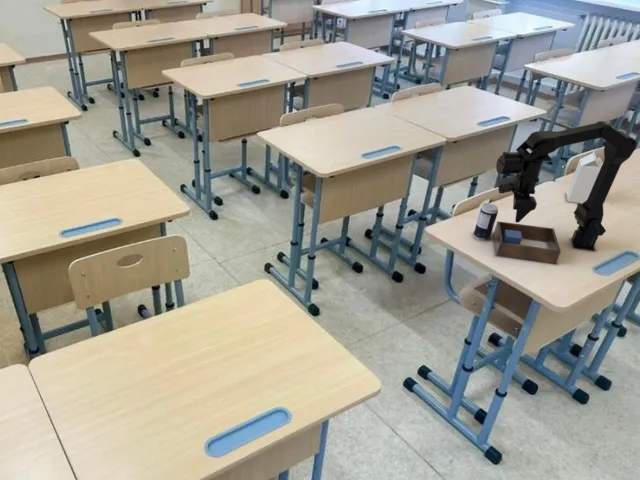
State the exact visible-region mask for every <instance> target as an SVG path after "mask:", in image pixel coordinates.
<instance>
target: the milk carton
mask: <svg viewBox="0 0 640 480" xmlns="http://www.w3.org/2000/svg"><path fill="white" fill-rule="evenodd" d="M601 163H603V160H602V158H601V157H597V156H596V152H595V150H593V151H592V153H590V154H588V155H586V156H584V157H582V158H580V159H579V161H578V163H577V166H576V169H575V171H574V173H573V176H572V179H571V181H570V183H569V186H568V189H567V192H566V201H567V202H569V203H575V204H578V203H584V202H585V201H586V200H587V199H588V197H589V194H590V192H591V190H592V187H593V185H594V183H595V181H596V178H597V176H598V174H599V171H600V169H601V167H602V164H601Z"/></svg>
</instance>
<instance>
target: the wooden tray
mask: <svg viewBox="0 0 640 480" xmlns="http://www.w3.org/2000/svg"><path fill="white" fill-rule="evenodd" d="M505 229H506V230H514V231H521V236H522V239H526V240H534V241H539V242H540V241H541V242H547V243H546V244H547V246H548V248H547V247H539V246H531V245H523V244H520V245H517V244H510V243H503V241H502V238H503V235H504V232H505ZM493 240H494V248H495V255H496V257H502V258H510V259H516V260H524V261H530V262H531V261H532V262H538V263H544V264H552V265H556V264H557V262H558V259H559V257H560V254H561V247H560V244H559V240H558V237H557V233H556V230H555V228H554V227H553V228H551V227H546V226H545V227H544V226H538V225H529V224H521V223H514V222H505V221H498V220H497V222H496V225H495V227H494V230H493Z"/></svg>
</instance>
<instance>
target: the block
mask: <svg viewBox="0 0 640 480" xmlns="http://www.w3.org/2000/svg"><path fill="white" fill-rule="evenodd" d="M522 240H523V238H522V236H521V231H514V230H506V229H505V232H504V235H502V241H503V243H510V244H517V245H521V243H522Z"/></svg>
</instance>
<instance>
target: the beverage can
mask: <svg viewBox="0 0 640 480" xmlns="http://www.w3.org/2000/svg"><path fill="white" fill-rule="evenodd" d="M498 214H499V207H498V206H497V205H495V204H494V203H484V204H483V205H482V206H481V208H480V210H479V214H478V216H477V219H476V224H475V228H474V231H473V235H474V237H475V238H476V239H478V240H483V241H484V240H487V239H489V238H491V236H492V232H493V231H494V230H493V229H494V228H495V227H494V226H495V223H496V220H497V216H498Z"/></svg>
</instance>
